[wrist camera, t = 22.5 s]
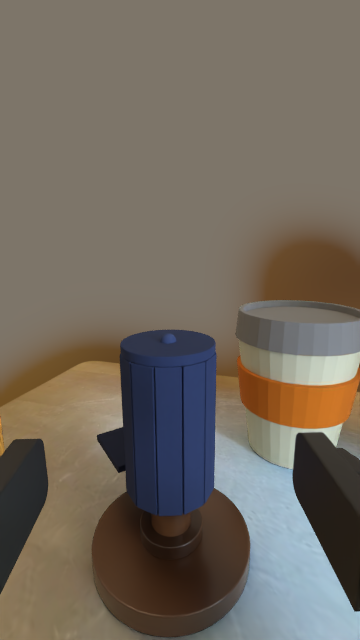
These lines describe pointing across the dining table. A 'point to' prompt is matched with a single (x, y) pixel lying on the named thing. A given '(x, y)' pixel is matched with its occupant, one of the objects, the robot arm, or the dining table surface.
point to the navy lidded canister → (166, 420)
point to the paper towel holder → (171, 565)
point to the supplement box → (1, 440)
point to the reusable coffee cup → (296, 372)
